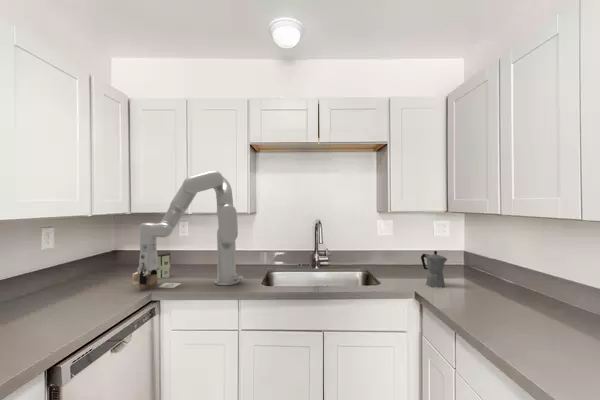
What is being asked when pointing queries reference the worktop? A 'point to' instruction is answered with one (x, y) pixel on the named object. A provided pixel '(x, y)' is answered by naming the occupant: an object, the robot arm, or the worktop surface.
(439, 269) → the coffeepot
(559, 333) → the worktop surface
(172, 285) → the tile
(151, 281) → the walnut block
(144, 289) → the slate coaster
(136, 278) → the maple block
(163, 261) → the coffee can
